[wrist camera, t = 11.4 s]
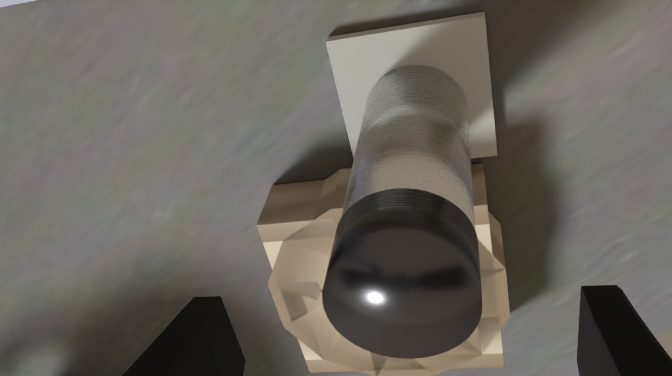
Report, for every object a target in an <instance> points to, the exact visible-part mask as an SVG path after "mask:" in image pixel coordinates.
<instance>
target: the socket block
mask: <svg viewBox="0 0 672 376" xmlns="http://www.w3.org/2000/svg"><path fill="white" fill-rule="evenodd" d="M351 170H352V168H345V169H340V170H338V171H337V172H335V173H334V174H333V175H331V176H330V177H328V178H327V179H325V180H317V181H308V182H298V183H289V184H279V185H272V187H271V190H270V192H269V195H268V197H267V200H266V202H265V205H264V207H263V210H262V212H261V215H260V217H259V220H258V223H257V228H258V231H259V234H260V236H261V239H262V242H263V245H264V248H265V250H266V253H267V256H268V259H269V261H270V264H271V267H272V272H271V275H270V278H269V281H268V286H269V289H270V292H271V294H272V297H273V300H274V302H275V305H276V308H277V310H278V313H279V316H280V318H281V321H282V324H283V326H284V328H286V329H287V330H288V331H289V332H291V333H292V334H293V335H294V336H295V337H297V338H298V341H299V344H300V347H301V349H302V352H303V355H304V358H305V360H306V363H307V366H308V369H309V371H310V373H312V372H348V371H360V372H363V373H366V374H369V375H372V376H434V375H436V374H438V373H441V372H443V371H445V370H448V369H455V368H490V367H504V360H503V350H502V340H501V330H500V329H501V328H502V327H503V325H504V324H505V323H506V321H507V320H508V318H509V317H510V310H509V298H508V287H507V276H506V266H505V258H504V249H503V241H502V232H501V224H500V223H499V222H498V221H497V220H496V219H495V217H494V216H493V215H492V214H491V213H490V212H489V211H488V204H487V194H486V184H485V175H484V165H483V163H480V164H471V171H472V186H473V202H474V217H475V231H476V234H477V238H478V246H479V260H480V275H481V289H482V315H481V319H480V321H479V324H478V326H477V327H476V329H475V331H474V332H473V333H472V334H471V336H470V337H469V338H468V339H466V340H465V341H464V342H463V343H462V344H460V345H458V346H457V347H455V348H453V349H451V350H449V351H447V352H444V353H442V354H439V355H435V356H431V357H425V358H415V359H402V358H392V357H387V356H382V355H379V354H375V353H372V352H369V351H367V350H364V349H362V348H360V347H358V346H356V345H355V344H353V343H351V342H350V341H348V340H347V339H346V338H345V337H343V336H342V335H341V334H340V333H339V332H338V331H337V330H336V329H335V328H334V327H333V325H332V324H331V323H330V321H329V319H328V317H327V316H326V313H325V310H324V307H323V302H322V292H323V286H324V282H325V277H326V273H327V268H328V264H329V259H330V255H331V250H332V246H333V242H334V237H335V233H336V229H337V226H338V223H339V221H340V219H341V215H342V211H343V206H344V201H345V197H346V192H347V188H348V183H349V179H350V174H351Z"/></svg>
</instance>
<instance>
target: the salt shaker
mask: <svg viewBox="0 0 672 376" xmlns="http://www.w3.org/2000/svg"><path fill="white" fill-rule="evenodd" d="M322 302H323V307H324V310H325V313H326V316H327V317H328V319H329V321H330V323H331V324H332V325H333V327H334V328H335V329H336V330H337V331H338V332H339V333H340V334H341V335H342V336H343V337H345V338H346V339H347V340H348V341H350V342H351V343H353V344H355V345H356V346H358V347H360V348H362V349H364V350H367V351H369V352H372V353H375V354H379V355H382V356H387V357H392V358H402V359H415V358H425V357H431V356H435V355H439V354H442V353H444V352H447V351H449V350H451V349H453V348H455V347H457V346H458V345H460V344H462V343H463V342H464V341H465V340H466V339H468V338H469V337H470V336H471V334H472V333H473V332H474V331H475V329H476V327H477V326H478V324H479V321H480V319H481V315H482V289H481V275H480V260H479V246H478V238H477V234H476V231H475V217H474V202H473V186H472V171H471V155H470V140H469V124H468V109H467V101H466V98H465V95H464V93H463V91H462V89H461V87H460V86H459V84H458V83H457V82H456V81H455V80H454V79H453V78H452V77H451V76H449V75H448V74H446V73H445V72H443V71H441V70H439V69H437V68H434V67H430V66H425V65H408V66H403V67H400V68H396V69H394V70H392V71H390V72H388V73H387V74H385V75H384V76H382V77H381V78H380V79H379V80H378V81H377V82H376V83H375V85H374V86H373V87H372V89H371V91H370V93H369V95H368V98H367V102H366V106H365V111H364V115H363V120H362V125H361V129H360V134H359V138H358V143H357V147H356V152H355V156H354V161H353V165H352V170H351V174H350V179H349V183H348V188H347V192H346V197H345V201H344V206H343V211H342V215H341V219H340V221H339V223H338V226H337V229H336V233H335V237H334V242H333V246H332V250H331V255H330V259H329V264H328V268H327V273H326V277H325V282H324V286H323V292H322Z"/></svg>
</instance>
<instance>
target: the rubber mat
mask: <svg viewBox="0 0 672 376" xmlns="http://www.w3.org/2000/svg"><path fill="white" fill-rule="evenodd" d="M326 45H327V49H328V53H329V57H330V62H331V66H332V70H333V74H334V78H335V83H336V87H337V91H338V95H339V100H340V104H341V108H342V112H343V116H344V121H345V125H346V129H347V133H348V137H349V142H350V146H351V150H352V154H353V158H354V156H355V152H356V147H357V143H358V138H359V134H360V129H361V125H362V120H363V115H364V111H365V106H366V102H367V98H368V95H369V93H370V91H371V89H372V87H373V86H374V85H375V83H376V82H377V81H378V80H379V79H380V78H381V77H382V76H384V75H385V74H387V73H388V72H390V71H392V70H394V69H396V68H400V67H403V66H408V65H425V66H430V67H434V68H437V69H439V70H441V71H443V72H445V73H446V74H448V75H449V76H451V77H452V78H453V79H454V80H455V81H456V82H457V83H458V84H459V86H460V87H461V89H462V91H463V93H464V95H465V98H466V101H467V109H468V124H469V140H470V155H471V158H481V157H490V156H497V145H496V134H495V122H494V111H493V100H492V88H491V77H490V66H489V54H488V43H487V32H486V20H485V12H479V13H473V14H467V15H461V16H454V17H448V18H442V19H436V20H430V21H423V22H417V23H411V24H405V25H399V26H393V27H386V28H380V29H374V30H368V31H362V32H355V33H349V34H343V35H337V36H331V37H327V40H326Z"/></svg>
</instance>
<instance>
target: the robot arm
mask: <svg viewBox="0 0 672 376" xmlns="http://www.w3.org/2000/svg"><path fill="white" fill-rule="evenodd" d="M30 1H35V0H0V7H5V6H10V5H15V4H20V3H25V2H30ZM577 363H578V369H579V376H672V359H671V358H670V356H669V355H668V354H667V353H666V351H665V350H664V349H663V347H662V346H661V345H660V344H659V342H658V341H657V339H656V338H655V337H654V335H653V334H652V333H651V331H650V330H649V329H648V327H647V326H646V325H645V323H644V322H643V320H642V319H641V318H640V316H639V315H638V313H637V312H636V310H635V309H634V307H633V306H632V304H631V303H630V301H629V300H628V298H627V297H626V295H625V294H624V292H623V291H622V289H620V288H619V287H618V286H617V285H604V286H581V297H580V315H579V332H578V349H577ZM244 366H245V358H244V356H243V353H242V351H241V348H240V345H239V343H238V340H237V338H236V335H235V332H234V330H233V327H232V325H231V322H230V319H229V317H228V314H227V312H226V309H225V306H224V304H223V301H222V299H221V296H217V297H194V298H193V299H192V300H191V301H190V302H189V303H188V304H187V305H186V306H185V307H184V309H183V310H182V311H181V312H180V313H179V314H178V315H177V316H176V317H175V319H174V320H173V321H172V322H171V323H170V324H169V325H168V326H167V327H166V329H165V330H164V331H163V332H162V333H161V334H160V335H159V336H158V337H157V339H156V340H155V341H154V342H153V343H152V344H151V345H150V346H149V347H148V348H147V350H146V351H145V352H144V353H143V354H142V355H141V356H140V357H139V358H138V359H137V360H136V361H135V362H134V364H133V365H132V366H131V367H130V368H129V369H128V370H127V371H126V372H125V373H124V374H123V375H122V376H243V372H244Z"/></svg>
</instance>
